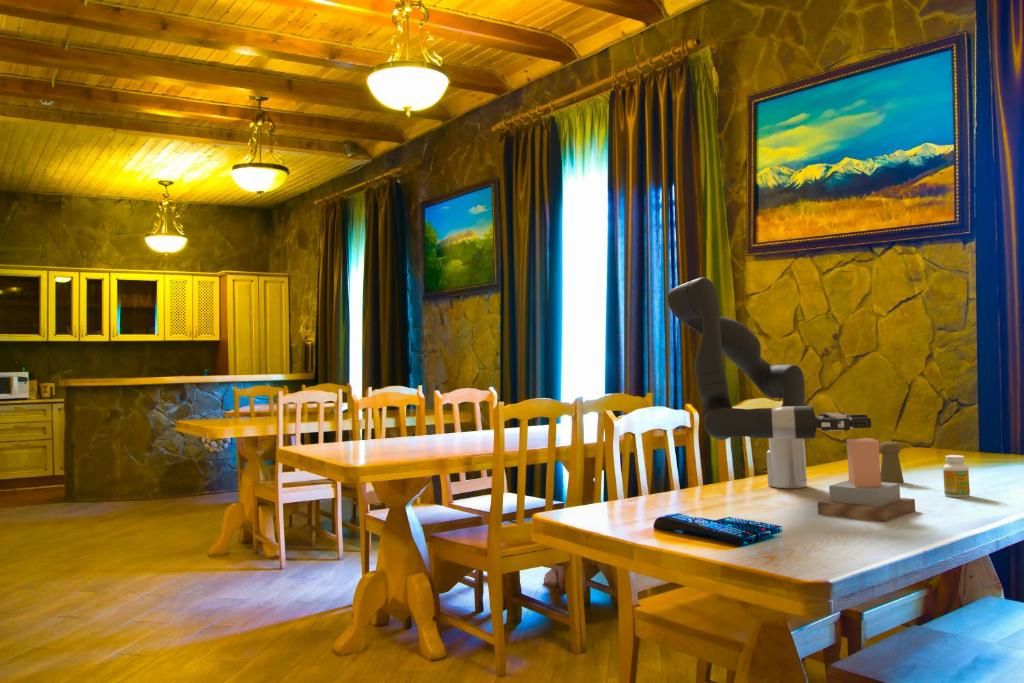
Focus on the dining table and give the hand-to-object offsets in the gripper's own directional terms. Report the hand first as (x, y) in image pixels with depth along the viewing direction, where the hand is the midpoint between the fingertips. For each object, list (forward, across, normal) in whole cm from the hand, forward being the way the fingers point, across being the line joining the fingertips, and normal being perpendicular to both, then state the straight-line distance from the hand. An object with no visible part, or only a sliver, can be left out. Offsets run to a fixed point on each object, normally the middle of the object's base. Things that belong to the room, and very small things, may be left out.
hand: (869, 420), depth 181 cm
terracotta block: (-2, 0, +14) cm, 14 cm away
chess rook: (+8, +44, +21) cm, 49 cm away
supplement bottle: (+20, +23, +21) cm, 37 cm away
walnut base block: (-2, 0, +21) cm, 21 cm away
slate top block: (-2, 0, +18) cm, 18 cm away
